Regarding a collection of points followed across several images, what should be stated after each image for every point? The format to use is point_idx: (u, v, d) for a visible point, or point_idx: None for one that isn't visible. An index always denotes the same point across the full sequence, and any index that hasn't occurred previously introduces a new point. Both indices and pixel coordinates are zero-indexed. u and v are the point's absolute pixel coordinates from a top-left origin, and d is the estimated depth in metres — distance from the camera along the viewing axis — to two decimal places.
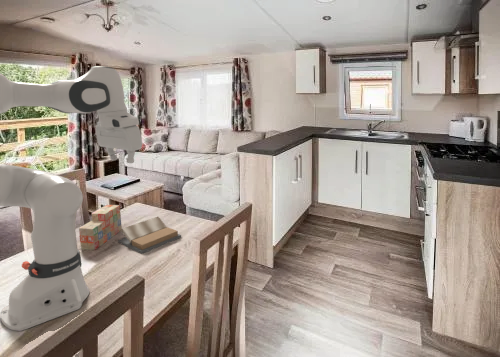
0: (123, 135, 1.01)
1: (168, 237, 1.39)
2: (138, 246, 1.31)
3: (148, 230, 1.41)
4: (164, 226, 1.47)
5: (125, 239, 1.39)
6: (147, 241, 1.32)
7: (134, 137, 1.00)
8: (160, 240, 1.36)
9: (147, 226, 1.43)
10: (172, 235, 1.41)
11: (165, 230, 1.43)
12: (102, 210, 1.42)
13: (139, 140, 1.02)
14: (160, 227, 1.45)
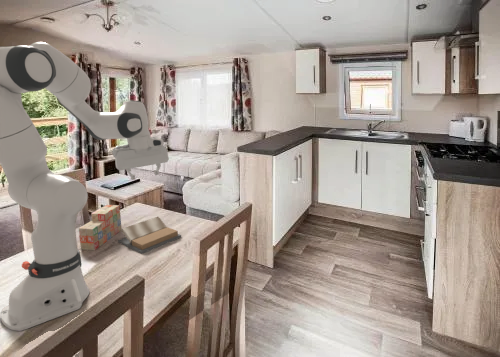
0: (157, 152, 1.31)
1: (168, 237, 1.39)
2: (138, 246, 1.31)
3: (148, 230, 1.41)
4: (164, 226, 1.47)
5: (125, 239, 1.39)
6: (147, 241, 1.32)
7: None
8: (160, 240, 1.36)
9: (147, 226, 1.43)
10: (172, 235, 1.41)
11: (165, 230, 1.43)
12: (102, 210, 1.42)
13: None
14: (160, 227, 1.45)
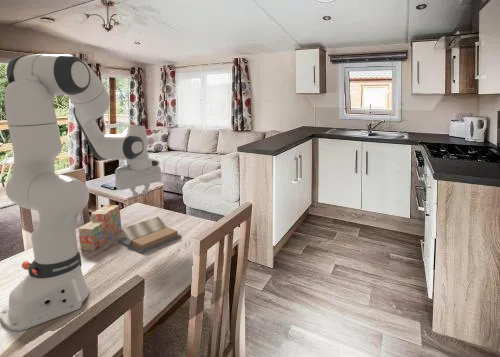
0: (153, 172, 1.41)
1: (168, 237, 1.39)
2: (138, 246, 1.31)
3: (148, 230, 1.41)
4: (164, 226, 1.47)
5: (125, 239, 1.39)
6: (147, 241, 1.32)
7: None
8: (160, 240, 1.36)
9: (147, 226, 1.43)
10: (172, 235, 1.41)
11: (165, 230, 1.43)
12: (102, 210, 1.41)
13: None
14: (160, 227, 1.45)
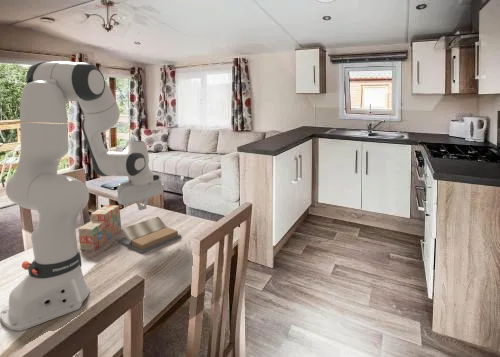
0: (154, 185, 1.42)
1: (168, 237, 1.39)
2: (138, 246, 1.31)
3: (148, 230, 1.41)
4: (164, 226, 1.47)
5: (125, 239, 1.39)
6: (147, 241, 1.32)
7: None
8: (160, 240, 1.36)
9: (147, 226, 1.43)
10: (172, 235, 1.41)
11: (165, 230, 1.43)
12: (102, 210, 1.41)
13: None
14: (160, 227, 1.45)
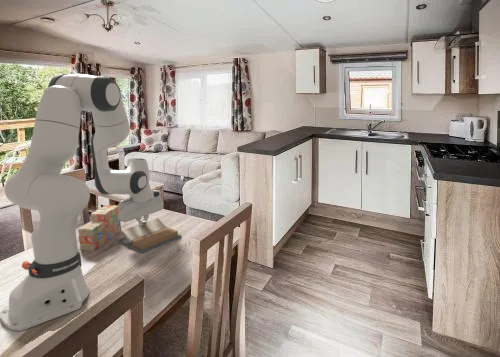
0: (154, 202, 1.44)
1: (168, 237, 1.39)
2: (138, 246, 1.31)
3: (148, 231, 1.41)
4: (164, 226, 1.47)
5: (125, 239, 1.39)
6: (147, 241, 1.32)
7: None
8: (160, 240, 1.36)
9: (147, 227, 1.43)
10: (172, 235, 1.41)
11: (165, 230, 1.43)
12: (101, 210, 1.41)
13: None
14: (160, 227, 1.45)
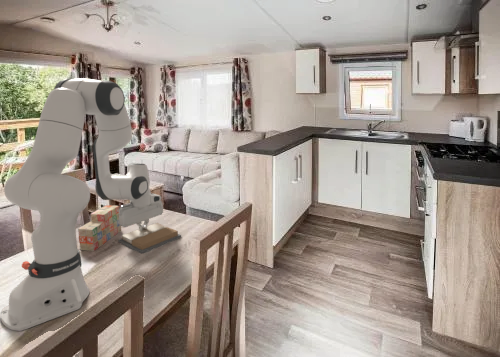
0: (155, 206, 1.45)
1: (168, 237, 1.39)
2: (138, 246, 1.31)
3: (148, 232, 1.41)
4: (164, 227, 1.47)
5: None
6: (147, 241, 1.32)
7: None
8: (160, 240, 1.36)
9: (147, 230, 1.43)
10: (172, 235, 1.41)
11: (165, 230, 1.43)
12: (101, 211, 1.41)
13: None
14: (160, 228, 1.45)
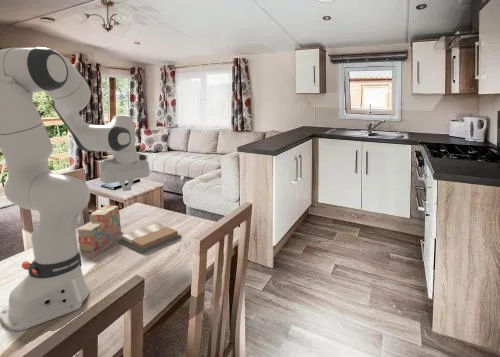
0: (140, 166, 1.35)
1: (168, 237, 1.39)
2: (138, 246, 1.31)
3: (148, 232, 1.41)
4: (164, 227, 1.47)
5: None
6: (147, 241, 1.32)
7: None
8: (160, 240, 1.36)
9: (147, 230, 1.43)
10: (172, 235, 1.41)
11: (165, 230, 1.43)
12: (101, 211, 1.41)
13: None
14: (160, 228, 1.45)
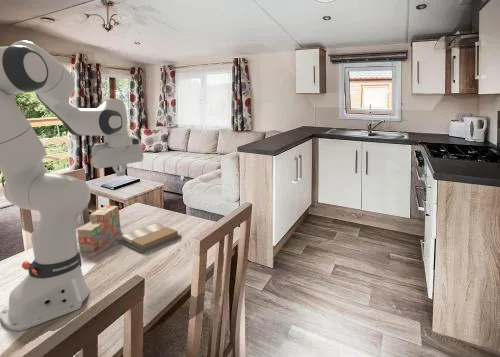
0: (133, 151, 1.32)
1: (168, 237, 1.39)
2: (138, 246, 1.31)
3: (148, 232, 1.41)
4: (164, 227, 1.47)
5: None
6: (147, 241, 1.32)
7: None
8: (160, 240, 1.36)
9: (147, 230, 1.43)
10: (172, 235, 1.41)
11: (165, 230, 1.43)
12: (101, 211, 1.41)
13: None
14: (160, 228, 1.45)
